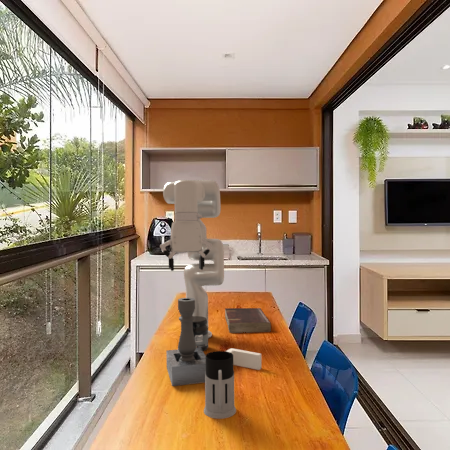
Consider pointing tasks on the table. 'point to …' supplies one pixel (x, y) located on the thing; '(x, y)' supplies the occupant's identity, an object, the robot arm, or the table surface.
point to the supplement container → (200, 332)
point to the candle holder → (186, 329)
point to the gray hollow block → (186, 368)
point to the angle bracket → (246, 358)
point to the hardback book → (246, 320)
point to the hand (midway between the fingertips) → (186, 269)
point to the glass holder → (219, 385)
